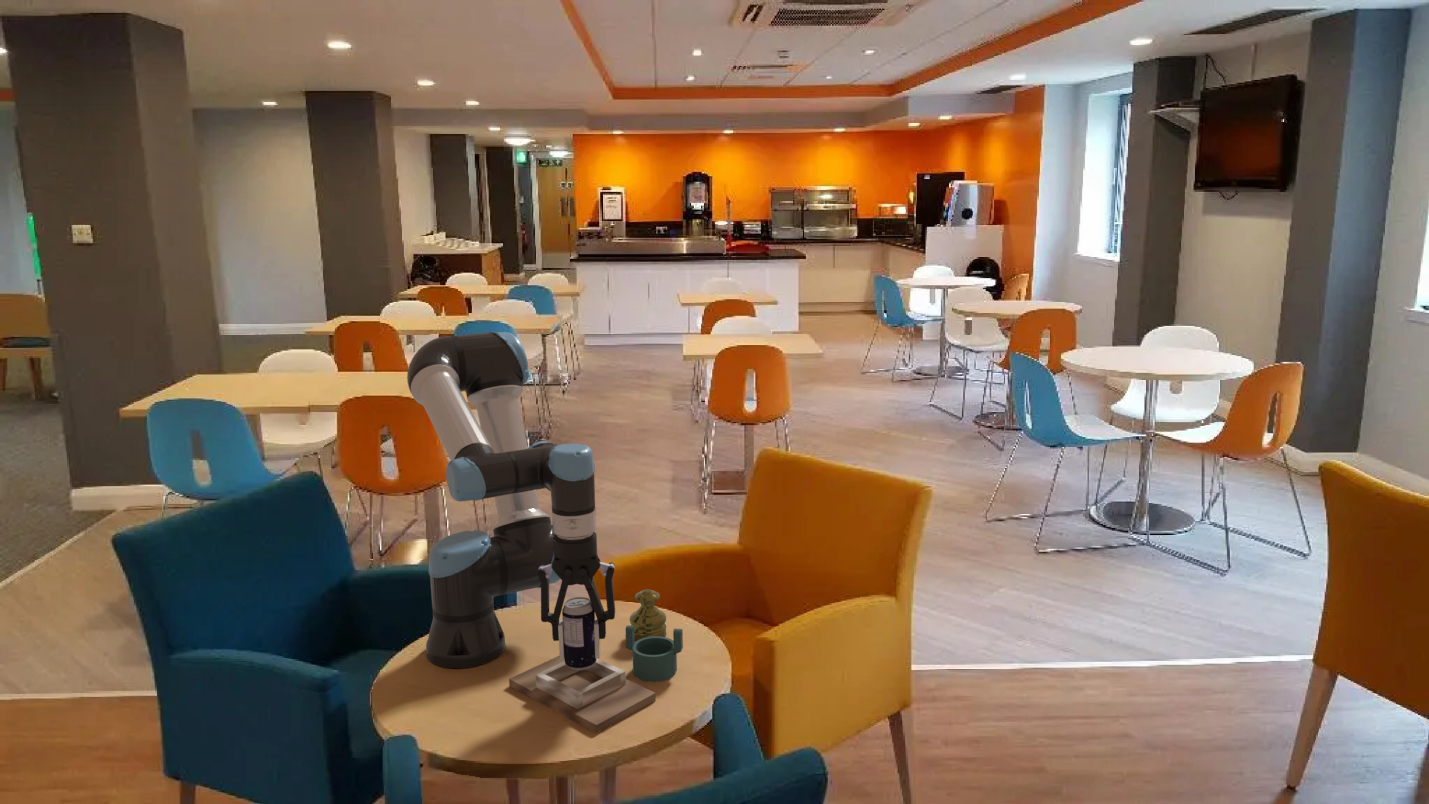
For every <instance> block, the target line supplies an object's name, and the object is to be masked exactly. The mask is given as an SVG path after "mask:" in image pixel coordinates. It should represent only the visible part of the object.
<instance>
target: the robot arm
mask: <svg viewBox="0 0 1429 804" xmlns="http://www.w3.org/2000/svg"><path fill="white" fill-rule="evenodd" d="M529 375H530V373H529V361H528V357H527V354H526V352H525V348H524V347H523V345H522V343H521V341H520V339H519V338H518V337H517V336H516V335H515V334H513V333H511V332H507V331H503V332H502V331H499V332H497V331H489V332H483V333H472V334H460V335H451V336H450V335H446V336H440V337H436V338H434V339H431V340H429V341H428V342H427V343H425V344H423V345H422V346H421V347H420V348H419V349H418V350H417V351H416V353H415V354H414V355H413V357H412V358H411V360H410V362H409V366H408V369H407V376H406V378H407V386H408V389H409V391H410V393H411V396H412V397H413V400H415V401H416V402H417V403H418V404H419V405H422V406H423V408H424V410H425V412H426V414H427V416H428V418H429V420H430V422H431V424H432V426H433V428H434V430H435V432H436V435H437V436H438V438H439V439H440V440H439V441H440V442H441V444H442V446H443V448H444V450H445V452H446V454H447V456H448V459H449V462H448V463H447V465H446V467H445V468H446V469H445V476H446V483H447V487H448V491H449V495H450V496H451V498H452V500H454V501H455V502H458V503H459V502H467V501H468V502H469V501H474V502H476V501H481V500H484V499H490V498H493V499H494V503H495V507H496V513H497V517H498V518H497V521H496V523H494V525H493V527H492V532H493V536H491V537H490V535H489V534H488V533H487V532H486V531H483V530H478V529H477V530H476V529H475V530H464V531H459V532H456V533H455V532H454V533H452V534H449V535H447V536H445V537H443V538H442V539H440V540H438V541H436V543H435V544H433V545H432V546H431V549H430V550H429V554H428V575H429V578H430V579H429V580H430V591H431V593H430V595H431V606H432V607H431V608H432V622H431V625H430V628H429V632H428V638H427V639H426V640H427V641H426V645H425V649H426V651H425V652H426V659H427V660H428V661H429V662H430V663H431V664H432V665H435V666H438V667H443V668H447V669H467V668H472V667H478V666H481V665H484V664H486V663H489V662H492V661H493V660H495V659H497V658H498V657H499V656H501V655H502V654H503V653H504V652H505V649H506V638H505V632H504V631H503V628H502V626H501V623H500V621H499V619H498V617H497V614H496V612H495V608H494V607H495V605H494V598H495V597H499V596H504V595H508V594H513V593H514V594H515V593H517V592H523V591H527V590H532V589H537V588H538V589H540V621H541V622H542V623H549V624H550V625H551V630H552V631H551V632H552V640H553V641H554V642H557V641H558V646H559V647H558V649H559V653H558V654H559V656H560V660H564V637H563V618H560V617H561V615H562V610H563V607H564V603H565V598H566V595H567V591H568V587H569V586H575V585H581V586H584V588H585V590H586V592H587V594H588V599H590V600H591V603H592V606H593V609H594V612H595V623H594V637H595V658H598V659H600V658H601V640H605V638H606V637H607V631H606V630H607V629H606V625H607V624H606V623H607V621H609V620H610V621H611V620H614V619H615V616H616V604H615V602H616V601H615V591H614V581H613V580H614V579H613V577H614V573H615V568H616V565H615V563H614V562H609V563H607V562H603V561H601V559H600V558H599V555H598V541H597V533H596V530H597V513H596V510H597V508H596V495H595V494H596V492H595V491H596V489H595V487H596V485H595V470H596V468H595V467H596V466H595V461H594V454H593V450H592V449H591V447H590V446H588V445H586V444H581V443H573V442H572V443H563V444H559V445H558V444H557V443H553V442H550V441H547V440H542V441H537V442H534V443H533V444H531V445H530V446H528V443H527V437H526V432H525V428H524V427H525V426H524V422H523V419H522V418H523V417H522V414H521V409H520V404H519V398H520V396H521V395H522V393H523V392H524V387H523V385H525V384H526V383H528V380H529ZM463 392H465V394H466V398H465V397H464V394H463ZM468 403H469V404H471V405H473V406H474V407H475V408H476V411H477V416H478V420H479V421H478V420H477V419H476V417H475V415H474V412H473V411H472V409H471V407H470V406H469V404H468ZM542 489H547V490H548V491H549V492H550V500H551V516H552V521H551V516H550V515H549V514H548V513H547V512H544V511H543V510H542V509H541V505H540V500H539V496H538V495H539V494H538V490H542ZM599 570H600V571H601V575H602V576H604V587H605V599H606V609H607V610H605V609H604V606H603V604H602V602H601V598H600V595H599V593H598V590H597V587H596V584H595V580H594V576H596V573H597V572H598V571H599ZM560 580H561V584H560V587H559V590H558V594H557V599H556V601H555V602H556V603H555V606H554V610H553V612H550V585H551V584H555V583H557V582H559V581H560Z"/></svg>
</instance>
